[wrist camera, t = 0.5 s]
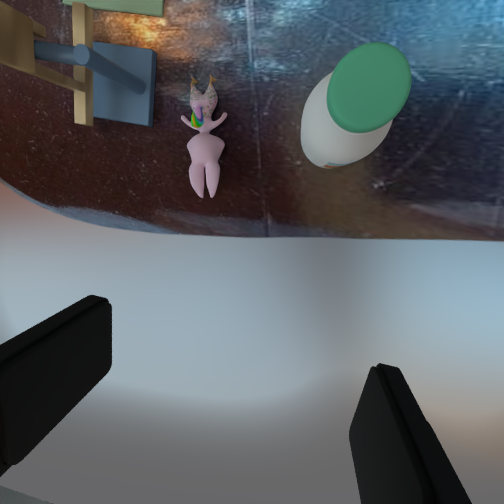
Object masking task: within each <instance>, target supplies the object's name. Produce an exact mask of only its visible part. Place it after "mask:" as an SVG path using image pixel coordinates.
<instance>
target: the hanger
mask: <svg viewBox="0 0 504 504" xmlns="http://www.w3.org/2000/svg"><path fill="white" fill-rule="evenodd" d="M72 9H73V46H76V45H77V44H84V45H86V46H88V47H89V48H91V49H92V50H93V10H92V9H91V8H90V7H89V6H87V5H86V4H85V3H79V2H72ZM33 37H40V38H46V29H45V27H44V26H42V25H41V24H39V23H37V22H35V21H34V20H32V19H31V18H29V17H27V16H25V15H24V14H22V13H20V12H19V11H17V10H15V9H14V8H12V7H10V6H8V5H7V4H5V3H3V2H2V1H0V63H2V64H5V65H7V66H10V67H13V68H15V69H18V70H20V71H23V72H26V73H28V74H31V75H33V76H36V77H39V78H41V79H44V80H47V81H49V82H52V83H54V84H57V85H60V86H62V87H65V88H68V89H70V90H73V91H74V113H75V123H78V124H82V125H87V126H93V71H92V70H90V69H88V68H86V67H84V66H78V65H74V79H72V78H70V77H68V76H66V75H63V74H61V73H59V72H56V71H54V70H52V69H49V68H47V67H45V66H42V65H40V64H38V63H36V62H35V56H34V38H33Z"/></svg>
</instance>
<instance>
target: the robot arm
mask: <svg viewBox="0 0 504 504" xmlns="http://www.w3.org/2000/svg"><path fill="white" fill-rule="evenodd" d="M111 365H112V306H111V304H110V303H109V301H108V299H106V298H103V297H99V296H95V295H89V296H87V297H85V298H83V299H81V300H80V301H78V302H76V303H74V304H72V305H71V306H69V307H67V308H65V309H64V310H62V311H60V312H58V313H56V314H55V315H53V316H51V317H49V318H48V319H46V320H44V321H43V322H40V323H39V324H37V325H35V326H33V327H31V328H30V329H28V330H26V331H25V332H22V333H21V334H19V335H17V336H15V337H14V338H12V339H10V340H8V341H6V342H5V343H3V344H1V345H0V477H1V476H2V475H3V474H4V473H5V472H6V471H7V470H8V469H9V468H10V467H11V466H12V465H16V464H18V463H19V462H20V461H22V460H23V459H24V458H25V456H27V455H28V454H29V453H30V452H31V451H32V449H34V448H35V446H36V445H38V443H39V442H40V441H41V440H42V439H43V438H44V437H45V436H46V435H47V434H48V433H49V432H50V431H51V430H52V429H53V428H54V427H55V426H56V425H57V424H58V423H59V422H60V421H61V420H62V419H63V418H64V417H65V416H66V415H67V414H68V413H69V412H70V411H71V410H72V409H73V408H74V407H75V406H76V405H77V404H78V403H79V402H80V401H81V400H82V399H83V398H84V396H86V395H87V393H88V392H90V391H91V390H92V388H93V387H94V386H95V385H96V384H97V383H98V382H99V381H100V380H101V379H102V378H103V377H104V376H105V375H106V374H107V373H108V372H109V370H110V368H111ZM349 440H350V446H351V451H352V457H353V461H354V466H355V473H356V477H357V483H358V489H359V494H360V499H361V504H472V503H471V501H470V499H469V497H468V495H467V493H466V491H465V489H464V488H463V486H462V484H461V482H460V480H459V478H458V476H457V475H456V472H455V470H454V469H453V467H452V465H451V463H450V461H449V459H448V458H447V456H446V453H445V451H444V450H443V448H442V446H441V444H440V442H439V440H438V438H437V436H436V434H435V433H434V431H433V429H432V427H431V425H430V424H429V423H428V422H427V421H426V419H425V417H424V415H423V414H422V411H421V409H420V407H419V405H418V404H417V401H416V399H415V398H414V396H413V394H412V392H411V390H410V388H409V386H408V384H407V382H406V380H405V378H404V376H403V374H402V372H401V371H400V369H399V368H397V367H394V366H390V365H385V364H381V363H379V364H378V365H377V366H376V367H374V366H372V367H371V369H370V371H369V374H368V377H367V380H366V383H365V386H364V388H363V391H362V394H361V397H360V400H359V403H358V406H357V409H356V412H355V414H354V417H353V420H352V423H351V426H350V431H349ZM0 504H52V503H49V502H46V501H43V500H41V499H38V498H35V497H32V496H29V495H26V494H23V493H20V492H17V491H14V490H11V489H8V488H5V487H2V486H0Z"/></svg>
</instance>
